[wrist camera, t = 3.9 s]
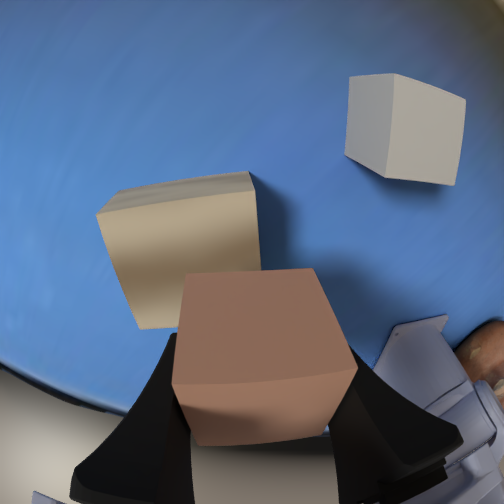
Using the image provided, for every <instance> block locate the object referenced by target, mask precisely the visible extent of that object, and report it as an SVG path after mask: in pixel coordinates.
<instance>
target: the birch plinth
mask: <svg viewBox="0 0 504 504" xmlns="http://www.w3.org/2000/svg"><path fill="white" fill-rule="evenodd" d="M96 217H97V220H98V223H99V226H100V229H101V233H102V236H103V239H104V242H105V244H106V247H107V250H108V253H109V256H110V259H111V261H112V264H113V267H114V269H115V272H116V275H117V277H118V280H119V282H120V285H121V287H122V290H123V292H124V295H125V297H126V299H127V302H128V304H129V306H130V309H131V311H132V313H133V315H134V318H135V320H136V322H137V324H138V326H139V328H140V329H157V328H172V327H178V324H179V317H180V310H181V303H182V296H183V290H184V283H185V277H186V273H214V272H240V271H261V261H260V247H259V234H258V221H257V209H256V196H255V189H254V186H253V183H252V180H251V177H250V175H249V172H248V171H243V172H234V173H225V174H217V175H209V176H202V177H195V178H188V179H181V180H175V181H169V182H163V183H157V184H151V185H146V186H140V187H135V188H130V189H125V190H120V191H118V192H117V193H116V194H115V195H114V196H113V197H112V198H111V199H110V200H109V201H108V202H107V203H106V204H105V205H104V206H103V207H102V209H101V210H100V211H99V212H98V213H97V214H96Z"/></svg>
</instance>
